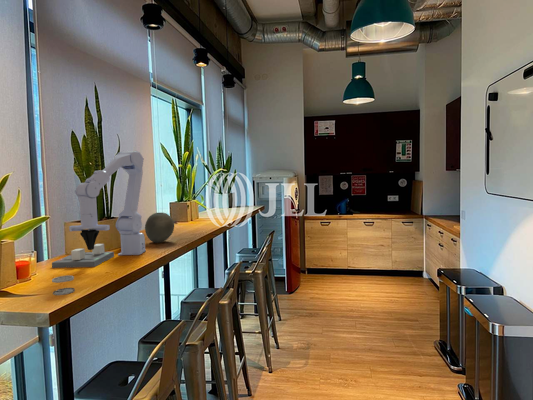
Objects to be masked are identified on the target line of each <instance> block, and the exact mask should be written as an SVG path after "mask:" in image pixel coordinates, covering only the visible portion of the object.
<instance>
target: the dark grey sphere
mask: <svg viewBox="0 0 533 400" xmlns="http://www.w3.org/2000/svg"><path fill="white" fill-rule="evenodd" d="M144 226H145V227H144V230H145V234H146V237H147V239H148V240H149V241H150V242H153V243H154V244H159V243H163V242H165V241H167V240H168V239H169V238H170V237H171V236H172V234H173V233H174V230H175V222H174V220H173V218H172V217H171V215H169V214H168V213H167V212H166V213H165V212H155V213H152V214H151V215H150V216H149V217H148V218H147V219H146V221H145V225H144Z"/></svg>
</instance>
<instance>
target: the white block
mask: <svg viewBox="0 0 533 400" xmlns="http://www.w3.org/2000/svg"><path fill="white" fill-rule="evenodd" d="M70 251H71V254H72V260H81V259H83V258H85V252H86V251H85V248H75V249H72V250H70ZM71 254H70V255H71Z"/></svg>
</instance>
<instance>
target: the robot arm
mask: <svg viewBox="0 0 533 400" xmlns="http://www.w3.org/2000/svg"><path fill="white" fill-rule="evenodd" d="M143 165H144V157H143V155H142V154H141V152H140V151H138V150H134V151H119V152H117V154H115V155H114V158H113V159H112V160H111V161H110V162H109V163H108V164H107V165H106V166H105V167H104V168H103V169H102V170H101V169H100V170H99V169H98V170H94V172H93V174H91V176H89V177H88V178H86V179H85V181H84V182H80V183H79V184H78V185H77V186H76V190H75V191H74V193H75V195H76V197H77V198H78V202H79V214H80V224H79V225H70V226H68V230H69V232H80V233H79V235H80V236H81V237H82V239H83V241H84V243H85V244H86V247H87V251H92V249H94V245H96V244H95V243H96V241H97V237H98V235H99V233H100V231H106V232H107V231H109V230H111V229H110V226H111V225H110V224H98V209H97V207H98V206H97V204H98V203H97V197H98V196H99V195H100V191H101V189H102V188H103V187H104V186H106V184H108V182H109V181H110V176H112V175H113V174H115V172H117V171H119V169H122V170H124V171H125V173H127V174H128V182H127V185H126V193H125V200H124V206H123V210H122V211H120V213H119V214H118V217H117V220H116V222H115V228H116V230H117V231H118V233H119V235H120V249H121V251H120V252H119V253H117V256H132V255H133V256H139V255H141V254H143V253H145V252H146V251H147V250H146V239H145V234H144V233H143V232H140V231H141V229H142V227H143V223H142V218H143V217H142V215H141V214H140V213H139V212H138V207H139V202H140V196H141V195H140V193H141V187H142V180H143V173H144V171H143ZM139 232H140V233H139Z"/></svg>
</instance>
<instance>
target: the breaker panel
mask: <svg viewBox="0 0 533 400" xmlns="http://www.w3.org/2000/svg"><path fill="white" fill-rule="evenodd" d="M113 257H115V251H105V252H104V253H102V254H93V252H92V251H89V252H88V251H87V252H86V251H85V258H83V259H81V260H72V254H69V255H67V256H65V257H61V258H60V259H57V260H55V261H52V262H51V268H52V269H58V268H59V269H61V268H62V269H63V268H65V267H66V268H95V267H97V266H99V265H101V264H102V262H103V263H104V261H105V262H106V261H108V260H110V259H112V258H113Z"/></svg>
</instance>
